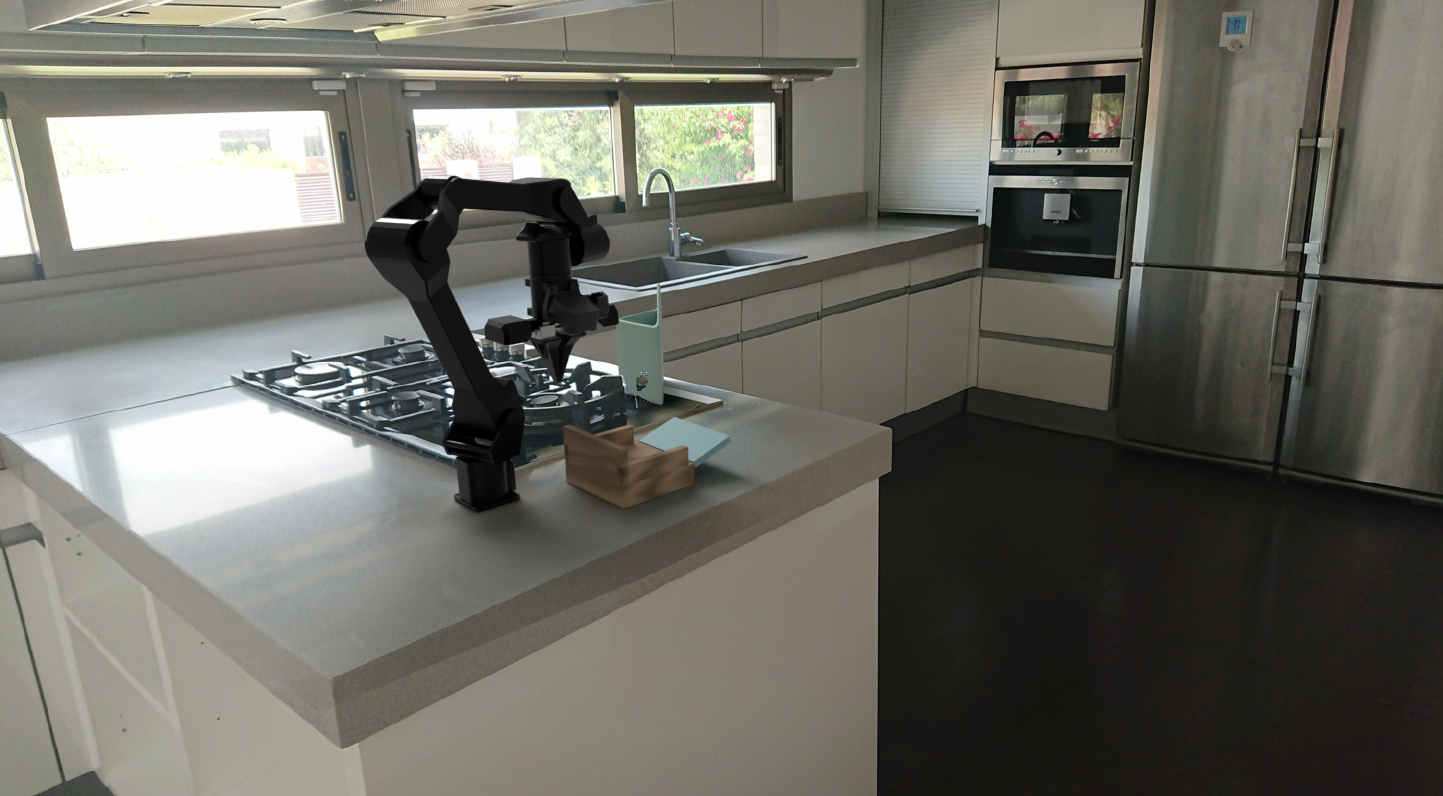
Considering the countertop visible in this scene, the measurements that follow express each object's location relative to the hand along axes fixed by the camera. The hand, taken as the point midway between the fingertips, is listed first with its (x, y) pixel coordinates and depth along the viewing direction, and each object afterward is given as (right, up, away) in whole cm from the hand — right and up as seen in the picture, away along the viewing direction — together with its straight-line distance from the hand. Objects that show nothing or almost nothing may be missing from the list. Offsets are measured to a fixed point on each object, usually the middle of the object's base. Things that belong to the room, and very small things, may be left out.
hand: (557, 381), depth 134 cm
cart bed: (+11, -14, -5) cm, 18 cm away
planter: (+9, -1, +37) cm, 38 cm away
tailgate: (+15, -10, -2) cm, 18 cm away
